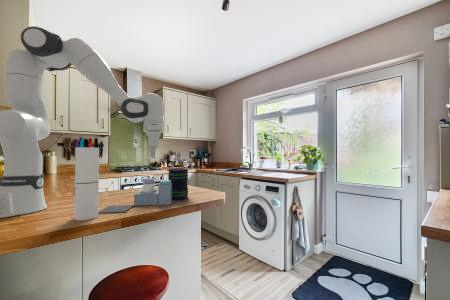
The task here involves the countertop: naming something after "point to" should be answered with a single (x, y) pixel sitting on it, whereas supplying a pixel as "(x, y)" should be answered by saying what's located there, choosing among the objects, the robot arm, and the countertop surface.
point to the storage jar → (179, 184)
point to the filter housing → (155, 196)
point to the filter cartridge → (148, 185)
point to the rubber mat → (116, 209)
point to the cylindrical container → (86, 183)
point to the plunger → (165, 182)
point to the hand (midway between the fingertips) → (152, 158)
